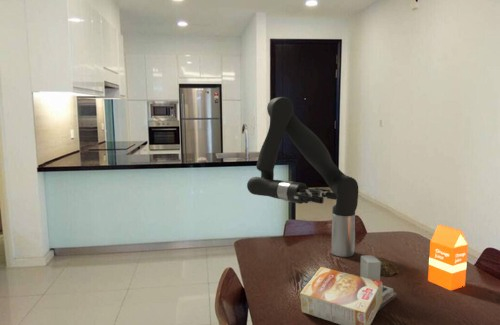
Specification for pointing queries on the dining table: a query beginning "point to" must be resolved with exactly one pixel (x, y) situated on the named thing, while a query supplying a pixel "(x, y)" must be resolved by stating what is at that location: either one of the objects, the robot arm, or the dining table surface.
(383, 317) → the dining table surface
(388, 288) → the jig
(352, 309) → the coffeecake box
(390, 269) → the bread roll
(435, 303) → the dining table surface
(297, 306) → the dining table surface
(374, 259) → the skincare box
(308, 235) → the dining table surface
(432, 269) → the orange juice
